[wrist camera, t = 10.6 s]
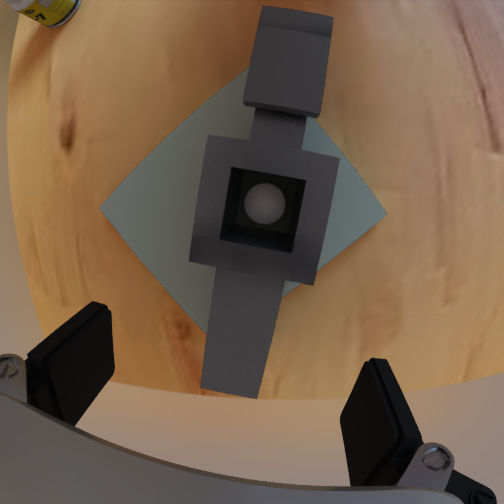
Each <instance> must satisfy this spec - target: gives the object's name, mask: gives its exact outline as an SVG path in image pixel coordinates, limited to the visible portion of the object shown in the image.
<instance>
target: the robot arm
mask: <svg viewBox="0 0 504 504" xmlns="http://www.w3.org/2000/svg"><path fill="white" fill-rule="evenodd" d="M27 356H28V358H27V359H26V360H25V361H24V360H23V359H22V358H21V357H20V356H18V355H15V354H2V355H0V504H497V501H496V497H495V494H494V493H493V491H492V490H491V489H489V488H488V487H486V486H484V485H482V484H480V483H478V482H476V481H474V480H472V479H470V478H469V477H467V476H465V475H463V474H461V473H459V472H457V471H455V470H454V469H453V467H454V457H453V455H452V453H451V452H450V451H449V450H448V449H447V448H446V447H445V446H443V445H441V444H438V443H433V442H430V443H425V444H424V443H423V441H422V436H421V433H420V431H419V429H418V426H417V424H416V422H415V419H414V417H413V415H412V413H411V410H410V408H409V406H408V404H407V401H406V399H405V397H404V395H403V393H402V391H401V388H400V386H399V384H398V382H397V380H396V378H395V376H394V373H393V371H392V369H391V367H390V365H389V363H388V361H387V360H386V359H379V358H371V359H370V360H369V361H366V362H365V363H364V364H363V367H362V369H361V371H360V374H359V376H358V378H357V381H356V383H355V385H354V387H353V390H352V392H351V394H350V396H349V398H348V400H347V402H346V404H345V407H344V409H343V411H342V413H341V416H340V424H341V430H342V436H343V442H344V446H345V453H346V459H347V465H348V472H349V478H350V485H351V486H350V487H349V486H348V487H347V486H344V487H341V486H340V487H339V486H311V485H296V484H283V483H274V482H266V481H258V480H251V479H245V478H239V477H233V476H227V475H221V474H216V473H212V472H207V471H203V470H199V469H194V468H190V467H186V466H182V465H179V464H175V463H171V462H168V461H164V460H161V459H158V458H154V457H151V456H148V455H145V454H142V453H139V452H136V451H133V450H130V449H127V448H125V447H122V446H119V445H117V444H114V443H111V442H109V441H106V440H104V439H102V438H99V437H97V436H94V435H92V434H89V433H87V432H85V431H83V430H81V429H78V428H76V427H74V426H75V425H76V424H77V422H78V421H79V420H80V418H81V417H82V415H83V414H84V413H85V411H86V410H87V409H88V407H89V406H90V405H91V403H92V402H93V401H94V399H95V398H96V396H97V395H98V394H99V393H100V391H101V390H102V389H103V387H104V386H105V385H106V383H107V382H108V381H109V379H110V378H111V377H112V375H113V373H114V370H115V363H114V351H113V336H112V315H111V311H110V310H108V307H107V305H105V304H101V303H98V302H95V301H92V302H90V303H89V304H88V305H87V306H85V307H84V308H83V309H81V310H80V311H79V312H78V313H76V314H75V315H74V316H73V317H71V318H70V319H69V320H68V321H66V322H65V323H64V324H63V325H61V326H60V327H59V328H58V329H56V330H55V331H54V332H53V333H52V334H50V335H49V336H48V337H47V338H45V339H44V340H43V341H42V342H41V343H39V344H38V345H37V346H36V347H35V348H34V349H33V350H31V351H30V352H29V353H28V354H27Z"/></svg>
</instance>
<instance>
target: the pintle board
mask: <svg viewBox="0 0 504 504" xmlns="http://www.w3.org/2000/svg"><path fill="white" fill-rule="evenodd" d="M332 26H333V17H330V16H325V15H321V14H316V13H310V12H305V11H299V10H293V9H286V8H279V7H271V6H262V10H261V15H260V19H259V24H258V28H257V33H256V37H255V42H254V47H253V51H252V56H251V61H250V66H249V68H247V69H246V70H245V71H243V72H242V73H241V74H239V75H238V76H237V77H236V78H234V79H233V80H232V81H230V82H229V83H228V84H227V85H225V86H224V87H223V88H222V89H220V90H219V91H218V92H217V93H216V94H214V95H213V96H212V97H211V98H210V99H208V100H207V101H206V102H205V103H204V104H202V105H201V106H200V107H199V108H198V109H197V110H196V111H194V112H193V113H192V114H191V115H190V116H189V117H188V118H186V119H185V120H184V121H183V122H182V123H181V124H180V125H179V126H178V127H177V128H175V129H174V130H173V131H172V132H171V133H170V134H169V135H168V136H167V137H166V138H165V139H164V140H163V141H162V142H161V143H160V144H159V145H158V146H157V147H156V148H155V149H154V150H153V151H152V152H151V153H150V154H149V155H148V156H147V157H146V158H145V159H144V160H143V161H142V162H141V163H140V164H139V165H138V166H137V167H136V168H135V169H134V170H133V171H132V172H131V173H130V174H129V175H128V176H127V177H126V178H125V179H124V181H123V182H122V183H121V184H120V185H119V186H118V187H117V188H116V189H115V190H114V192H113V193H112V194H111V195H110V196H109V197H108V198H107V200H106V201H105V202H104V203H103V204H102V205H101V206H100V210H101V211H102V212H103V214H104V215H105V216H106V218H107V219H108V220H109V221H110V223H111V224H112V225H113V227H114V228H115V229H116V230H117V232H118V233H119V234H120V236H121V237H122V238H123V239H124V241H125V242H126V243H127V244H128V246H129V247H130V248H131V249H132V251H133V252H134V253H135V254H136V255H137V257H138V258H139V259H140V260H141V262H142V263H143V264H144V265H145V266H146V267H147V269H148V270H149V271H150V272H151V273H152V275H153V276H154V277H155V278H156V279H157V280H158V282H159V283H160V284H161V285H162V286H163V287H164V289H165V290H166V291H167V292H168V293H169V294H170V295H171V296H172V298H173V299H174V300H175V301H176V302H177V303H178V304H179V305H180V307H181V308H182V309H183V310H184V311H185V312H186V313H187V314H188V315H189V316H190V318H191V319H192V320H193V321H194V322H195V323H196V324H197V325H198V326H199V327H200V328H201V329H202V330H203V331H204V333H205V334H206V335H207V329H208V321H209V314H210V307H211V299H212V292H213V285H214V278H215V272H216V267H213V266H208V265H203V264H198V263H193V262H189V254H190V246H191V239H192V231H193V224H194V217H195V210H196V203H197V197H198V190H199V184H200V178H201V172H202V166H203V160H204V154H205V149H206V143H207V138H208V135H215V136H223V137H230V138H237V139H244V140H250V135H251V130H252V124H253V119H254V113H255V108H263V109H269V110H275V111H281V112H287V113H292V114H297V115H303V116H307V122H306V128H305V133H304V139H303V145H302V150H306V151H310V152H315V153H320V154H324V155H329V156H333V157H337V158H340V161H339V167H338V172H337V178H336V183H335V189H334V194H333V199H332V204H331V209H330V214H329V219H328V223H327V228H326V233H325V237H324V242H323V246H322V251H321V255H320V260H319V264H318V268H317V271H318V270H319V269H320V268H322V267H323V266H324V265H326V264H327V263H328V262H329V261H331V260H332V259H333V258H334V257H336V256H337V255H338V254H340V253H341V252H342V251H343V250H345V249H346V248H347V247H348V246H350V245H351V244H352V243H353V242H354V241H356V240H357V239H358V238H359V237H361V236H362V235H363V234H364V233H366V232H367V231H368V230H369V229H370V228H372V227H373V226H374V225H375V224H376V223H378V222H379V221H380V220H381V219H383V218H384V217H385V216H386V215H387V213H386V211H385V210H384V208H383V207H382V206H381V204H380V203H379V201H378V200H377V198H376V197H375V196H374V194H373V193H372V191H371V190H370V189H369V187H368V186H367V185H366V183H365V182H364V180H363V179H362V178H361V176H360V175H359V174H358V172H357V171H356V170H355V169H354V167H353V166H352V165H351V163H350V162H349V161H348V159H347V158H346V157H345V156H344V154H343V153H342V152H341V151H340V149H339V148H338V147H337V146H336V144H335V143H334V142H333V141H332V140H331V138H330V137H329V136H328V135H327V134H326V132H325V131H324V130H323V129H322V128H321V126H320V125H319V124H318V123H317V122H316V121H315V120H314V118H318V116H319V114H320V110H321V104H322V97H323V91H324V84H325V77H326V70H327V63H328V56H329V48H330V41H331V34H332ZM297 183H298V181H296V180H291V179H285V178H280V177H275V176H269V175H264V174H258V173H252V172H246V171H244V177H243V182H242V188H241V194H240V200H239V206H238V211H237V217H236V223H235V224H241V225H246V226H251V227H257V228H262V229H267V230H273V231H278V232H283V233H288V230H289V225H290V220H291V215H292V209H293V204H294V199H295V194H296V188H297ZM300 284H301V283H297V282H291V281H286V280H285V283H284V288H283V292H282V297H284V296H285V295H286V294H288V293H289V292H290V291H292V290H293V289H294V288H296V287H297V286H298V285H300ZM282 297H281V298H282Z"/></svg>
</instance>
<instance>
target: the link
mask: <svg viewBox="0 0 504 504" xmlns="http://www.w3.org/2000/svg"><path fill="white" fill-rule="evenodd" d="M306 122H307V116H303V115H297V114H292V113H287V112H281V111H275V110H269V109H263V108H255V113H254V119H253V124H252V130H251V135H250V140H244V139H237V138H230V137H223V136H215V135H208V138H207V143H206V149H205V154H204V160H203V166H202V172H201V178H200V184H199V190H198V197H197V203H196V210H195V217H194V224H193V231H192V239H191V246H190V254H189V262H193V263H198V264H203V265H208V266H213V267H216V272H215V278H214V285H213V292H212V299H211V307H210V314H209V321H208V329H207V337H206V344H205V352H204V360H203V369H202V377H201V386H200V388H204V389H209V390H213V391H218V392H222V393H227V394H232V395H237V396H242V397H248V398H254V399H257V397H258V393H259V389H260V385H261V381H262V377H263V373H264V369H265V365H266V361H267V357H268V353H269V349H270V345H271V340H272V336H273V332H274V328H275V323H276V319H277V315H278V310H279V306H280V301H281V297H282V292H283V288H284V283H285V280H286V281H291V282H297V283H302V284H308V285H314V281H315V277H316V272H317V268H318V264H319V260H320V255H321V251H322V246H323V242H324V237H325V233H326V228H327V223H328V219H329V214H330V209H331V204H332V199H333V194H334V189H335V183H336V178H337V172H338V167H339V161H340V158H337V157H333V156H329V155H324V154H320V153H315V152H310V151H306V150H302V145H303V139H304V133H305V128H306ZM244 171H246V172H252V173H258V174H264V175H269V176H275V177H280V178H285V179H291V180H296V181H298V183H297V188H296V194H295V199H294V204H293V209H292V215H291V220H290V225H289V230H288V233H283V232H278V231H273V230H267V229H262V228H257V227H251V226H246V225H241V224H235V223H236V217H237V211H238V206H239V200H240V194H241V188H242V182H243V177H244Z"/></svg>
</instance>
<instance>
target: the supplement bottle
mask: <svg viewBox="0 0 504 504" xmlns="http://www.w3.org/2000/svg"><path fill="white" fill-rule="evenodd" d="M4 1H6V2H7V3H10V4H11V5H12V8H13V9H14V10H15V11H18V12H20V13H21V14H24V15H26V16H27V17H30V18H31V19H33V20H35V21H37V22H39V23H41V24H43V25H45V26H47V27H49V28H55V27H58V26H61V25H62V24H64V23H65V22H67V21H68V20H69V19H70V18H71V17H72V16H73V15H74V13H75V12H76V10H77V9H78V7H79V5H80V2H81V0H4Z"/></svg>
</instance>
